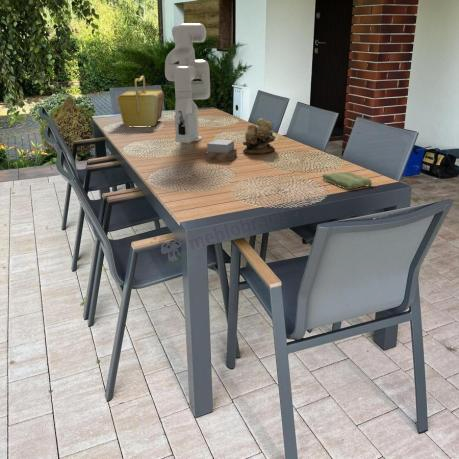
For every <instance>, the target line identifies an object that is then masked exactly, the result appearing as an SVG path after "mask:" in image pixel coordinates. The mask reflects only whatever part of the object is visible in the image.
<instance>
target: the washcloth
mask: <svg viewBox="0 0 459 459" xmlns="http://www.w3.org/2000/svg"><path fill="white" fill-rule="evenodd" d="M321 178H322V181H323V180H326V181H328V182H331V183H333V184H336V185H339V186H341V187H340V188H342V187H344V188H346V189H345V190H347V189H351V190H354V189H353V188H357V189H359V188H358V187H360V188H362V187H361V186H366V185H371V186H372V185H373V182H372V180H371V179H370V178H368V177H364V176H362V175H358V174H355V173H352V172H349V171H342V172H341V171H338V172H331V173H324V174H322V177H321ZM326 181H325V182H326ZM328 182H327V183H328ZM331 183H330V184H331ZM333 184H332V185H333ZM336 185H335V186H336ZM339 186H338V187H339ZM344 188H343V189H344Z"/></svg>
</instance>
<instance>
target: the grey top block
mask: <svg viewBox="0 0 459 459" xmlns="http://www.w3.org/2000/svg"><path fill="white" fill-rule="evenodd" d="M206 145H207V148H206V149H207V150H206V152H216V153H228V152H230V151H231V150H233V149H234V148H235V140H232V139H231V140H230V139H218V138H217V139H213V140H211V141H209V142H207V143H206Z"/></svg>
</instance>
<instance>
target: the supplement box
mask: <svg viewBox="0 0 459 459" xmlns="http://www.w3.org/2000/svg"><path fill="white" fill-rule="evenodd" d="M181 119H183V117H182V116H181ZM181 122H182V123H183V121H181ZM184 122H185V124H184V126H185V135H179V131H178V123H177V120H176V118H175V115H174V126H175V127H174V130H175V133H176V134H175V141H176V143H192V141H193V142H195V141H194V140H195V121H194V113H191V114H189V115H187V116H186V120H185V121H184Z"/></svg>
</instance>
